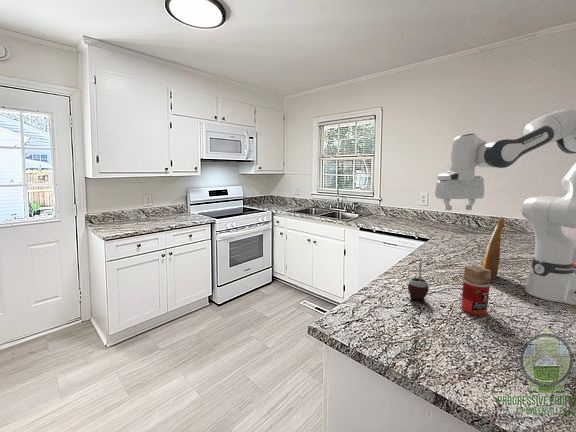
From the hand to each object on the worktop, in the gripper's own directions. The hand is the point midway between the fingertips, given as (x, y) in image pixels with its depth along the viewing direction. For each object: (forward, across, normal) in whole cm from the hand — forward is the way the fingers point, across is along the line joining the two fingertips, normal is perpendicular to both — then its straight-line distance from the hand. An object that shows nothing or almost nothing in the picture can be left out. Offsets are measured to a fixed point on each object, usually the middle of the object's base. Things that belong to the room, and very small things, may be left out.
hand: (458, 209), depth 121 cm
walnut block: (+22, +8, +20) cm, 31 cm away
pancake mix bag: (+33, -26, -7) cm, 43 cm away
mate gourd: (+33, +22, +8) cm, 41 cm away
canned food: (+33, +8, +20) cm, 40 cm away
